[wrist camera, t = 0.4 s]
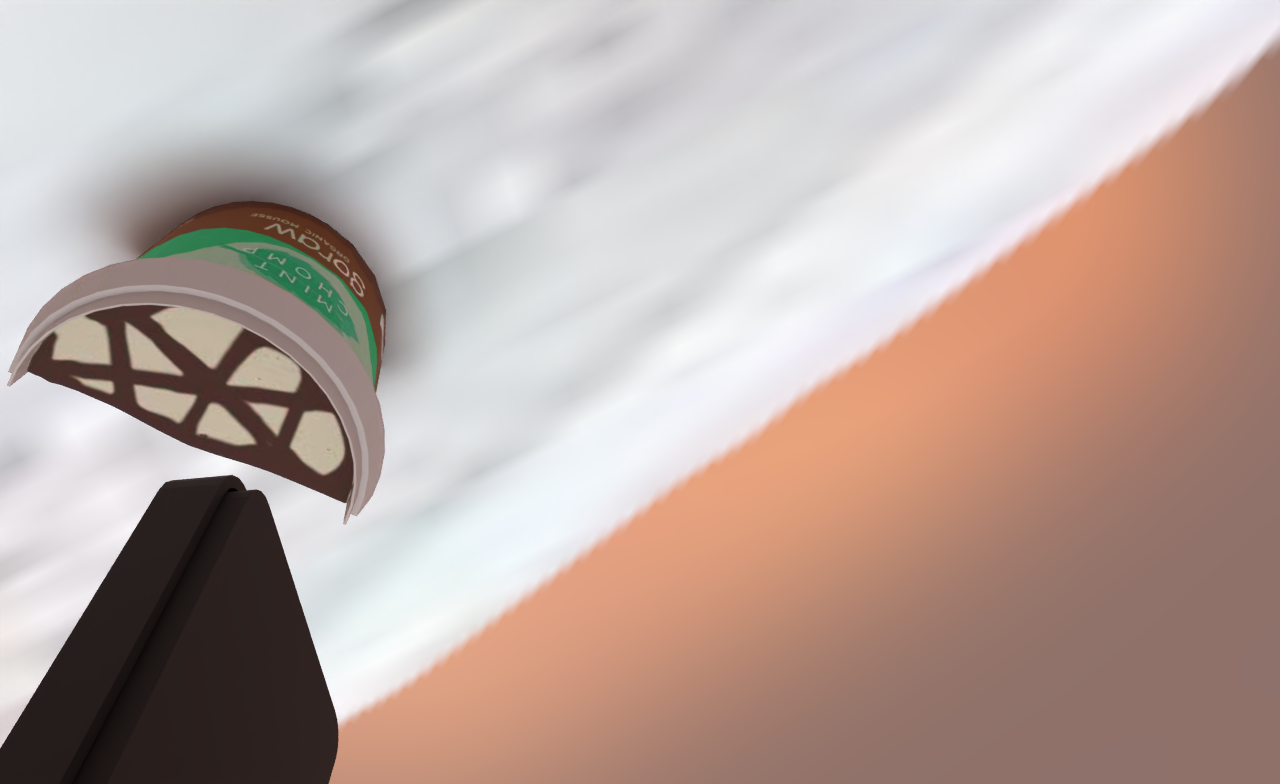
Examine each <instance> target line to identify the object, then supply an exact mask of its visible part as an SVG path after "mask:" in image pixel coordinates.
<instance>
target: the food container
mask: <svg viewBox="0 0 1280 784" xmlns="http://www.w3.org/2000/svg"><path fill="white" fill-rule="evenodd" d="M385 319H386V310H385V306H384V303H383V300H382V297H381V294H380V291H379V287H378V284H377V281H376V278H375V275H374V274H373V273H372V271H371V270H370V268H369V267H368V266H367V264H366V263H365V261H364V260H363V258H362V257H361V256H360V254H359V253H358V251H357V250H356V249H355V247H354V246H353V245H352V244H351V243H350V242H349V241H348V240H346V239H345V238H344V237H343V236H341V235H340V234H339V233H338V232H337V231H335V230H334V229H333V228H332V227H330V226H329V225H328V224H326V223H324V222H322V221H321V220H319V219H317V218H315V217H314V216H312V215H310V214H307V213H305V212H302V211H300V210H297V209H294V208H292V207H288V206H283V205H279V204H275V203H267V202H255V201H249V202H234V203H229V204H225V205H220V206H216V207H213V208H210V209H208V210H206V211H203V212H201V213H198V214H196V215H195V216H193V217H192V218H190V219H189V220H187V221H185V222H184V223H182V224H181V225H180V226H178V227H177V228H176V229H174V230H173V231H172V232H171V233H169V234H168V235H167V236H165V237H164V238H163V239H162V240H160V241H159V242H158V243H156V244H155V245H154V246H152V247H151V248H150V249H149V250H147V251H146V252H145V253H143V254H142V255H141V256H139V257H138V258H137V259H136V260H132V261H127V262H122V263H117V264H113V265H109V266H107V267H104V268H102V269H99V270H96V271H94V272H91V273H89V274H86V275H84V276H82V277H81V278H79V279H77V280H76V281H74V282H73V283H71V284H69V285H68V286H66V287H65V288H63V289H61V290H60V291H59V292H58V293H57V294H56V295H55V296H54V297H53V298H52V299H51V300H50V301H48V302H47V303H46V304H45V305H44V306H43V307H42V308H41V310H40V311H39V313H38V314H37V315H36V317H35V318H34V320H33V321H32V322H31V324H30V325H29V327H28V329H27V331H26V333H25V335H24V338H23V340H22V342H21V344H20V346H19V349H18V351H17V353H16V355H15V358H14V360H13V362H12V364H11V366H10V369H9V371H8V372H10V373H12V375H11V378H10V380H9V382H8V384H7V386H11V385H12V384H13V383H15V382H16V381H17V380H18V379H20V378H21V377H22V376H23V375H25V374H26V373H27V372H30V373H32V374H35V375H37V376H40V377H42V378H44V379H45V380H47V381H49V382H51V383H55V384H59V385H63V386H65V387H68V388H71V389H74V390H77V391H79V392H81V393H84V394H86V395H88V396H91V397H93V398H95V399H97V400H100V401H102V402H104V403H107V404H109V405H111V406H113V407H115V408H117V409H119V410H121V411H123V412H125V413H127V414H129V415H131V416H133V417H135V418H136V419H138V420H140V421H142V422H144V423H146V424H148V425H149V426H151V427H153V428H155V429H157V430H159V431H161V432H163V433H165V434H167V435H169V436H171V437H173V438H175V439H177V440H179V441H181V442H183V443H185V444H187V445H189V446H192V447H195V448H198V449H201V450H204V451H207V452H210V453H213V454H216V455H219V456H222V457H225V458H229V459H232V460H235V461H239V462H242V463H245V464H249V465H252V466H255V467H258V468H261V469H264V470H266V471H269V472H272V473H274V474H277V475H279V476H282V477H284V478H286V479H289V480H291V481H294V482H296V483H298V484H301V485H303V486H306V487H308V488H311V489H313V490H315V491H318V492H320V493H322V494H325V495H327V496H329V497H332V498H334V499H336V500H339V501H341V502H343V503H347V505H346V511H345V517H344V523H343V524H345V525H346V523H347V521H348V518H349V516H350V514H352V515H355V516H357V515H358V514H359V513H360V511H361V510H362V509H363V508H364V506H365V505H366V504H367V502H368V501H369V500H370V498H371V497H372V496H373V493H374V490H375V488H376V485H377V483H378V480H379V478H380V474H381V469H382V464H383V459H384V453H385V446H384V424H383V419H382V413H381V408H380V404H379V401H378V398H377V396H376V390H377V384H378V379H379V373H380V368H381V362H382V357H383V351H384V346H385Z"/></svg>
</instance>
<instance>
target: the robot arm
mask: <svg viewBox="0 0 1280 784" xmlns="http://www.w3.org/2000/svg"><path fill="white" fill-rule="evenodd" d="M337 749H338V723H337V717H336V713H335V709H334V706H333V703H332V700H331V697H330V694H329V691H328V688H327V684H326V681H325V678H324V675H323V672H322V669H321V666H320V663H319V659H318V656H317V653H316V650H315V647H314V644H313V641H312V638H311V634H310V631H309V628H308V625H307V622H306V619H305V616H304V613H303V609H302V606H301V603H300V600H299V597H298V594H297V591H296V588H295V585H294V581H293V578H292V575H291V572H290V569H289V566H288V563H287V560H286V556H285V553H284V550H283V547H282V544H281V541H280V538H279V535H278V531H277V528H276V525H275V522H274V519H273V516H272V513H271V510H270V507H269V504H268V501H267V499H266V497H265V495H264V494H263V493H262V492H261V491H259V490H246V488H245V486H244V484H243V483H242V482H241V480H240V479H239V478H238V477H235V476H233V475H228V476H217V477H205V478H194V479H183V480H172V481H169V482H165V484H164V485H163V486H162V487H161V488H160V489H159V491H158V492H157V494H156V495H155V497H154V499H153V500H152V502H151V504H150V505H149V507H148V509H147V510H146V512H145V513H144V515H143V517H142V518H141V520H140V522H139V523H138V525H137V526H136V528H135V530H134V531H133V533H132V535H131V536H130V538H129V540H128V541H127V543H126V544H125V546H124V548H123V549H122V551H121V553H120V554H119V556H118V557H117V559H116V561H115V562H114V564H113V566H112V567H111V569H110V571H109V572H108V574H107V575H106V577H105V579H104V580H103V582H102V584H101V585H100V587H99V588H98V590H97V592H96V593H95V595H94V597H93V598H92V600H91V602H90V603H89V605H88V606H87V608H86V610H85V611H84V613H83V615H82V616H81V618H80V619H79V621H78V623H77V624H76V626H75V628H74V629H73V631H72V633H71V634H70V636H69V637H68V639H67V641H66V642H65V644H64V646H63V647H62V649H61V650H60V652H59V654H58V655H57V657H56V659H55V660H54V662H53V664H52V665H51V667H50V668H49V670H48V672H47V673H46V675H45V677H44V678H43V680H42V681H41V683H40V685H39V686H38V688H37V690H36V691H35V693H34V695H33V696H32V698H31V699H30V701H29V703H28V704H27V706H26V708H25V709H24V711H23V712H22V714H21V716H20V717H19V719H18V721H17V722H16V724H15V726H14V727H13V729H12V730H11V732H10V734H9V735H8V737H7V739H6V740H5V742H4V743H3V745H2V747H1V748H0V784H328V783H329V780H330V776H331V773H332V770H333V766H334V763H335V759H336V754H337Z"/></svg>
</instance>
